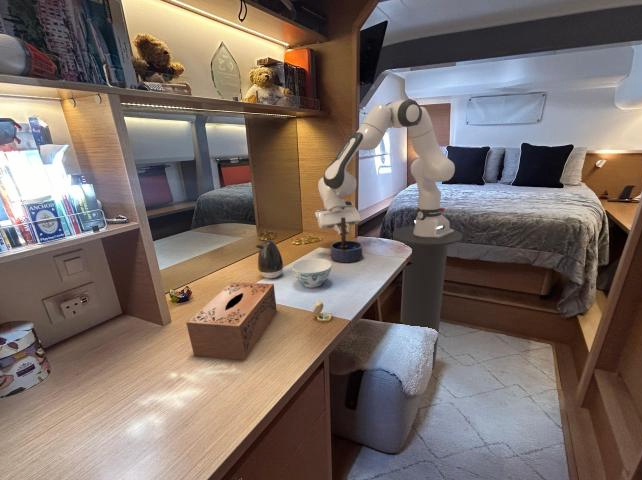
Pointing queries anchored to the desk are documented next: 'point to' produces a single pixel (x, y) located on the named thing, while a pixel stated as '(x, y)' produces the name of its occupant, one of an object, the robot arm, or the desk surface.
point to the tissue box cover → (232, 320)
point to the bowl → (346, 251)
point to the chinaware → (312, 271)
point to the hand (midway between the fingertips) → (344, 233)
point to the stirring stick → (343, 234)
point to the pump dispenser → (269, 260)
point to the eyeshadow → (323, 316)
